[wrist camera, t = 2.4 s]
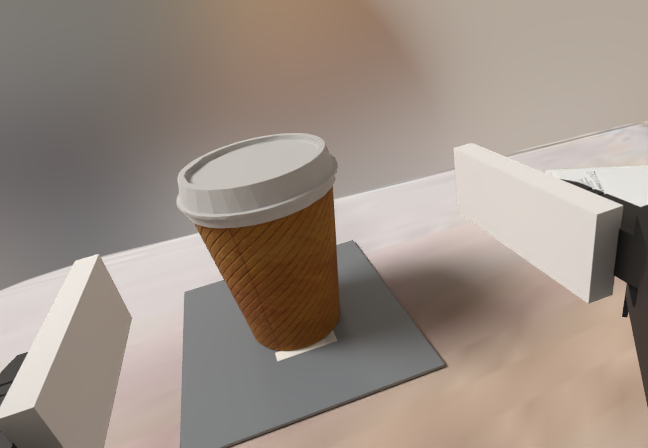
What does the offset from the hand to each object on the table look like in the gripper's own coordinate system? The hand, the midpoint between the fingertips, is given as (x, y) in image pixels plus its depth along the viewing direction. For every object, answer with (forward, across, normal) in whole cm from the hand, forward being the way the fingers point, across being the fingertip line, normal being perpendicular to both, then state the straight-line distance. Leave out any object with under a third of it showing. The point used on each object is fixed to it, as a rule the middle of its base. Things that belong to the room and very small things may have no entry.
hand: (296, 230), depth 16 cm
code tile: (+11, -1, -12) cm, 16 cm away
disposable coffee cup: (+11, -1, -12) cm, 16 cm away
